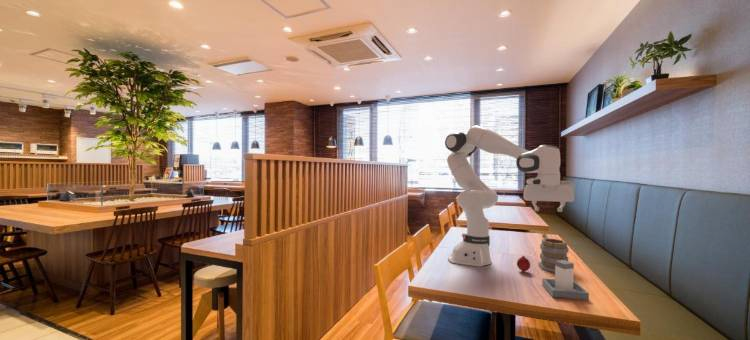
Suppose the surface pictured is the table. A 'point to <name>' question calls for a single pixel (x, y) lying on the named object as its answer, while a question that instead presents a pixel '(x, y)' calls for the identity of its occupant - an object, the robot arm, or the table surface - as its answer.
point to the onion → (523, 264)
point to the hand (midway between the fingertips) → (548, 211)
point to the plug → (564, 275)
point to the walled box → (565, 291)
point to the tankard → (552, 253)
